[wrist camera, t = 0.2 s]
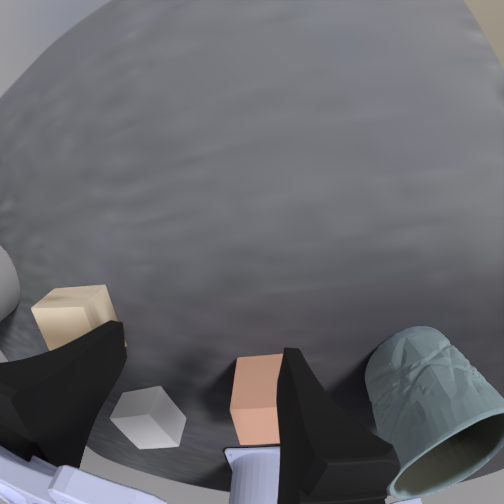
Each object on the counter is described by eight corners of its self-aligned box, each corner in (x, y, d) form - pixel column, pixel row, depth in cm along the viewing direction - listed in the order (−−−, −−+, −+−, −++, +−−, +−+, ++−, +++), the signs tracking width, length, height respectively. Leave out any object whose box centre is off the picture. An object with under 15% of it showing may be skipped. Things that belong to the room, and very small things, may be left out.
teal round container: (336, 389, 26) (359, 501, 14) (398, 299, 22) (469, 406, 11) (413, 405, 27) (449, 494, 15) (471, 331, 23) (536, 413, 12)
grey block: (186, 417, 28) (178, 446, 24) (149, 422, 29) (139, 448, 25) (160, 384, 27) (148, 414, 23) (123, 391, 28) (109, 418, 24)
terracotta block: (294, 390, 26) (298, 441, 20) (245, 394, 26) (240, 444, 21) (291, 352, 25) (295, 405, 19) (237, 357, 25) (229, 409, 19)
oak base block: (127, 343, 25) (110, 371, 22) (77, 342, 26) (58, 366, 22) (106, 283, 24) (83, 306, 20) (55, 287, 24) (30, 308, 20)
